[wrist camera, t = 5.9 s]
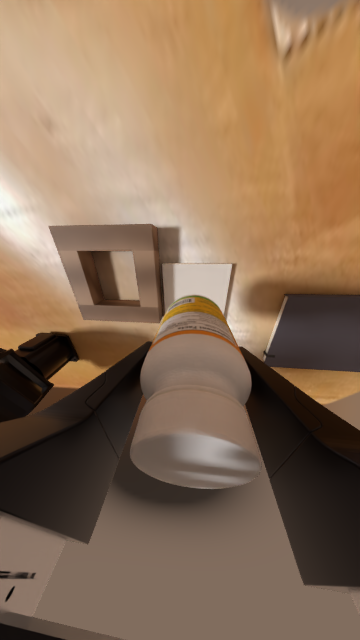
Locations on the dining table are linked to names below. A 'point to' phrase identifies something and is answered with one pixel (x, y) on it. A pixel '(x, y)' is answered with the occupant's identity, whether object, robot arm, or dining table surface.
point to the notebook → (316, 333)
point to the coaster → (196, 281)
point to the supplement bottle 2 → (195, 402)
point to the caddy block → (83, 274)
